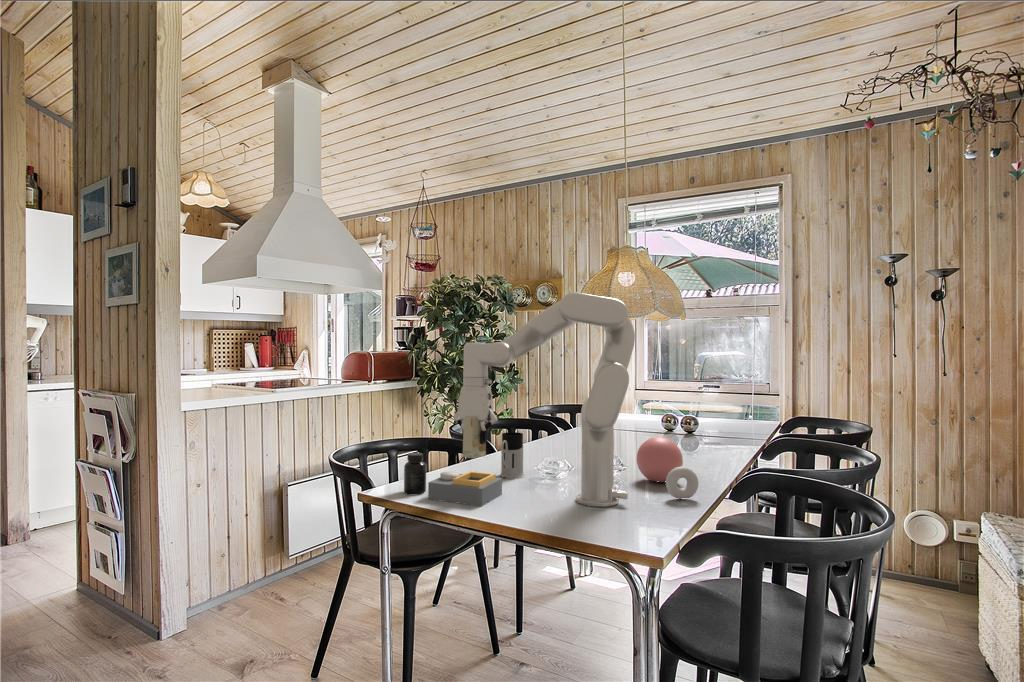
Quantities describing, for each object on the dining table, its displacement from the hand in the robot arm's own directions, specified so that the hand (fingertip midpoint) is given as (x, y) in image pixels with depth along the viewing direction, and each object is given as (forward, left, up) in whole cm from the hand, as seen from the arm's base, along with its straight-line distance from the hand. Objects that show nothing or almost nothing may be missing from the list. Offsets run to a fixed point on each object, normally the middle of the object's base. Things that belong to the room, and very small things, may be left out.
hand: (474, 441), depth 165 cm
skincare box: (0, 0, -5) cm, 5 cm away
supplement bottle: (+20, +2, -17) cm, 26 cm away
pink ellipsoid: (-48, -47, -17) cm, 69 cm away
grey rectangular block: (+3, 0, -17) cm, 17 cm away
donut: (-58, -25, -17) cm, 65 cm away
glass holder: (+1, -29, -17) cm, 34 cm away
